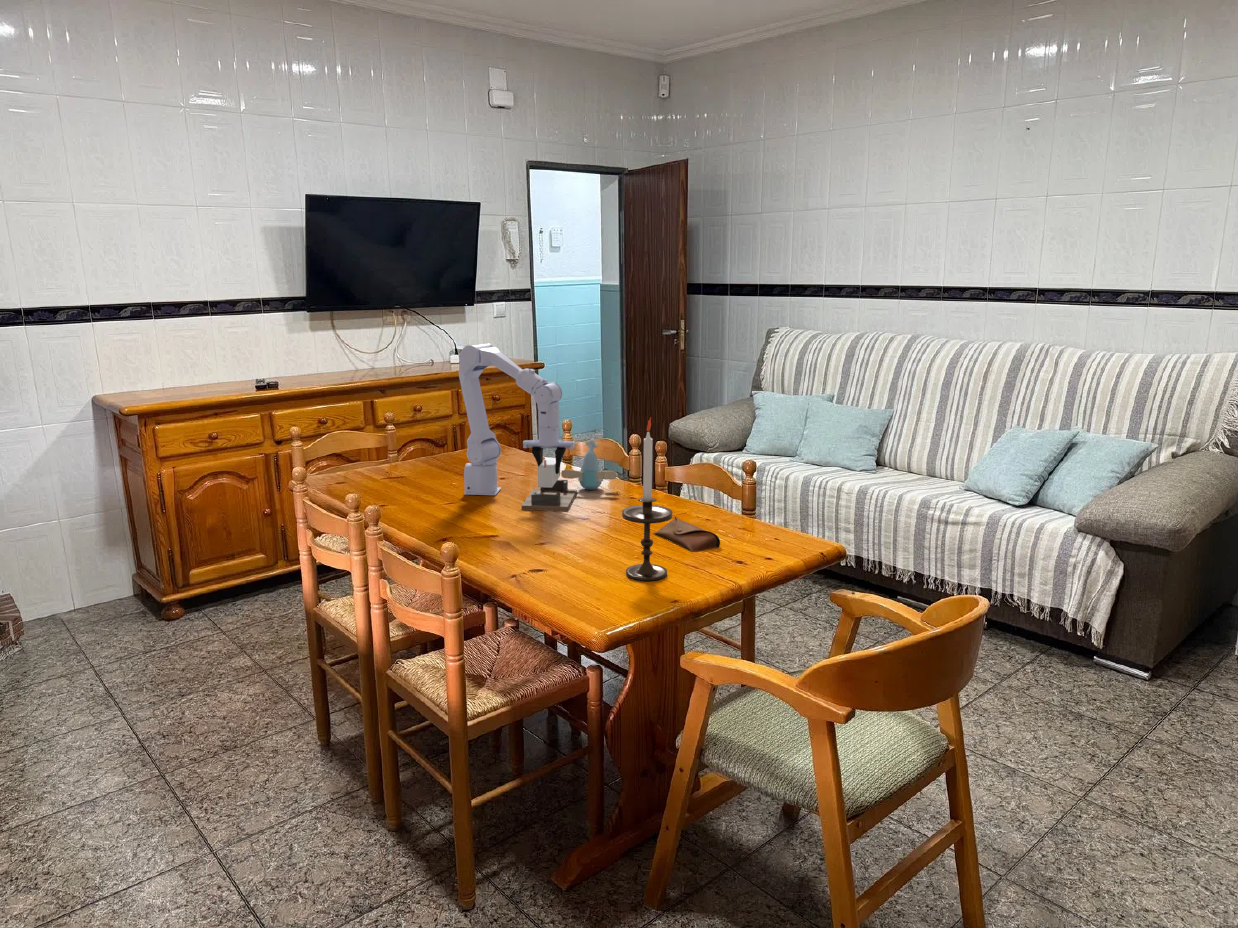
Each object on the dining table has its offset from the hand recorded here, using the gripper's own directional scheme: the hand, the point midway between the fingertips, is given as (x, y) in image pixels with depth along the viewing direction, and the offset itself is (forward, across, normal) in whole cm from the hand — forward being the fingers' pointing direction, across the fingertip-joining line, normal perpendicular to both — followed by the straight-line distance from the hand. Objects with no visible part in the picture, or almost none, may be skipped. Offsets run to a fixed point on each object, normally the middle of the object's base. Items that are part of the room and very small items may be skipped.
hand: (549, 472), depth 246 cm
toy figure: (+9, +10, +15) cm, 20 cm away
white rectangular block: (+2, 0, 0) cm, 2 cm away
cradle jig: (+8, 0, 0) cm, 8 cm away
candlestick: (+9, +31, -58) cm, 66 cm away
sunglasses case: (+9, +39, -32) cm, 52 cm away
